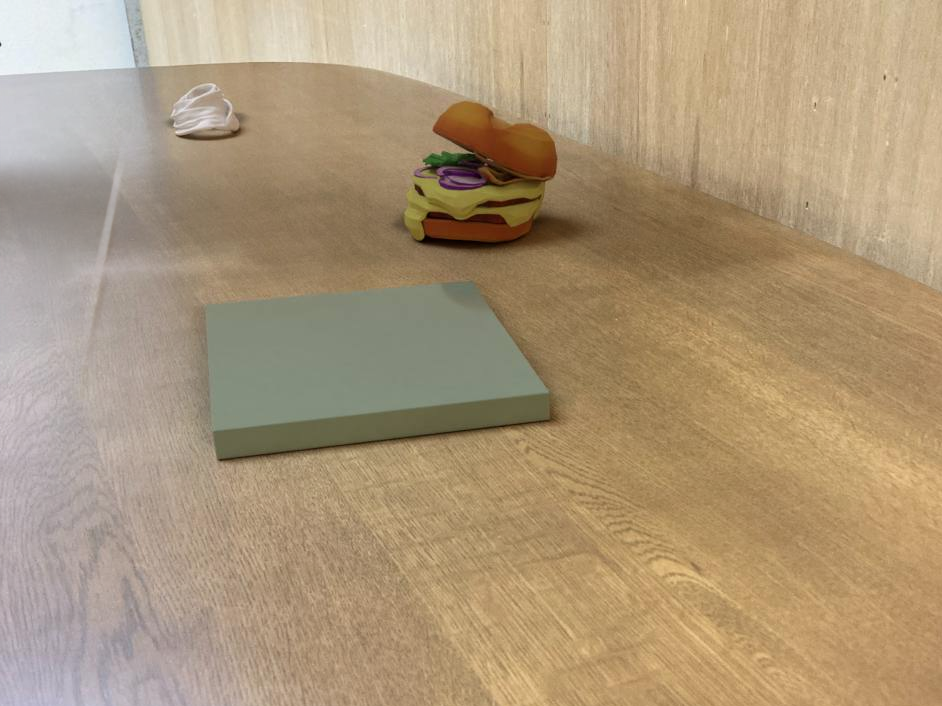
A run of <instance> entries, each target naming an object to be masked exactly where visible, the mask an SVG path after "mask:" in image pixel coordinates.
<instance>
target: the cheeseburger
mask: <svg viewBox="0 0 942 706" xmlns="http://www.w3.org/2000/svg"><path fill="white" fill-rule="evenodd" d="M431 131H432V132H433V133H434V134H435V135H436V136H439V137H441V138H443V139H445V140H446V141H449V142H451V143H452V144H454V145H455V146H458V147H459V148H461V149H463V150H465V151H467V152H468V153H467V152H466V153H463V152H456V153H455V152H454V153H450V152H449V151H446V150H442V151H441V155H440V154H437V153H433V152H432V153H430V154H429V155H428V156H427V157H425V158H423V159H422V163H424V166H423V167H420V168H417V169H415V170H414V171H413V175H412V182H413V185H412V186H411V187H410V189H409V190H408V191H407V193H406V197H405V198H406V201H407V209H406V210H405V211H404V215H403V216H404V217H403V218H404V224H405V226H406V227H407V229H408V231H409V232H410V234H411V236H412V237H413V238H414V240H415V241H422V240H423V239H424V238H425V236H427V237H429V238H432V239H443V240H444V239H445V240H458V241H459V240H461V241H474V242H486V243H498V242H508V241H513V240H515V239H518V238H520V237H521V236H523V235H525V234H527V233H529V232H530V230H531V227H532V225H533V220H536V219H537V218H538V216H539V214H540V210H541V208H542V205H543V201H544V197H545V193H546V182H548V181H551V180H553V179H554V178H555V176H556V174H557V169H558V155H557V149H556V143H555V141H554V139H553V138H552V136H551V135H550V134H549V133H548V132H547V131H546V130H545V129H543V128H540V127H538V126H536V125H534V124H532V123H525V122H524V123H515V124H513V125H512V124H510V123H509V122H507V121H505V120H503V119H500V118H498V117H496V116H495V115H494V112H493V110H491V109H490V108H489V107H487V106H485V105H483V104H480V103H479V102H472V101H468V100H463V101H459V102H456V103H453V104H452V105H450V106H449V107H448V108H447V109H446V110H445V111H444V112H442V113H441V114H440V115H439V117H438V118H437V120H436V122H435V123H434V125H433V127H432V130H431Z"/></svg>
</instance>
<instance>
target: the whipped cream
mask: <svg viewBox="0 0 942 706" xmlns="http://www.w3.org/2000/svg"><path fill="white" fill-rule="evenodd" d="M224 97H225V94H224V93H221V89H220V87H218V86H217V84H215V83H203V84H200V85H196V86H194V87H193V88H191V90H189V91H188V92H187V93H185V94H184V95H182V96H181V97H180V98H179V100H178V101H176V102H175V103H174V104H173V105H172V106H173V111H172V113H171V115H170V118H171V119H172V120H173V121H174V123H173V127H174V128H175V129H176V130H175V131H174V134H175V135H176V136H186V135H190V134H191V133H196V132H205V131H210V130H212V129H216V130H220V131H221V130H223V131H224V132H236V131H238V130H239V129H240V122H239V120H238V118H237V116H236V115H235V113H234V107H233V105H232V103H231V101H229V100H228V99H227V98H224Z"/></svg>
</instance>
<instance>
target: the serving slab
mask: <svg viewBox="0 0 942 706" xmlns="http://www.w3.org/2000/svg"><path fill="white" fill-rule="evenodd" d="M204 312H205V327H206V329H205V330H206V346H207V347H206V348H207V363H208V382H209V398H210V401H209V402H210V417H211V432H212V439H213V445H214V450H215V456H216V459H217V460H227V459H235V458H242V457H250V456H259V455H268V454H275V453H277V454H278V453H283V452H284V453H285V452H292V451H293V452H294V451H301V450H308V449H316V448H318V449H319V448H327V447H335V446H342V445H343V446H344V445H352V444H359V443H366V442H367V443H368V442H375V441H383V440H393V439H399V438H401V439H402V438H409V437H419V436H424V435H425V436H426V435H434V434H443V433H450V432H451V433H452V432H459V431H468V430H475V429H485V428H491V427H501V426H510V425H516V424H517V425H518V424H525V423H534V422H535V423H536V422H541V421H542V422H543V421H549V420H551V392H550V391H549V389H548V388H547V387H546V385H545V383H544V382H543V380H542V379H541V377H540V376H539V375H538V374H537V372H536V370H535V369H534V367H532V365H531V363H530V362H529V361H528V359H527V358H526V356H525V355H524V354H523V352H522V351H521V350H520V349H521V348H520V347H519V346H518V345H517V344H516V342H515V340H514V339H513V337H512V336H511V335H510V334H509V332H508V330H507V329H506V328H505V326H504V325H503V324H502V322H501V321H500V319H499V317H498V316H497V315H496V313H495V312H494V311H493V309H492V308H491V306H490V305H489V304H488V302H487V301H486V299H485V298H484V296H483V295H482V293H481V291H480V290H479V289H478V288H477V286H476V285H475V283H474V282H473V280H459V281H449V282H439V283H438V282H437V283H428V284H427V283H426V284H417V285H415V284H414V285H405V286H396V287H382V288H373V289H372V288H371V289H361V290H351V291H338V292H328V293H327V292H326V293H318V294H317V293H316V294H305V295H295V296H283V297H273V298H261V299H251V300H240V301H231V302H229V301H227V302H217V303H207V304H205V305H204Z"/></svg>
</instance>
